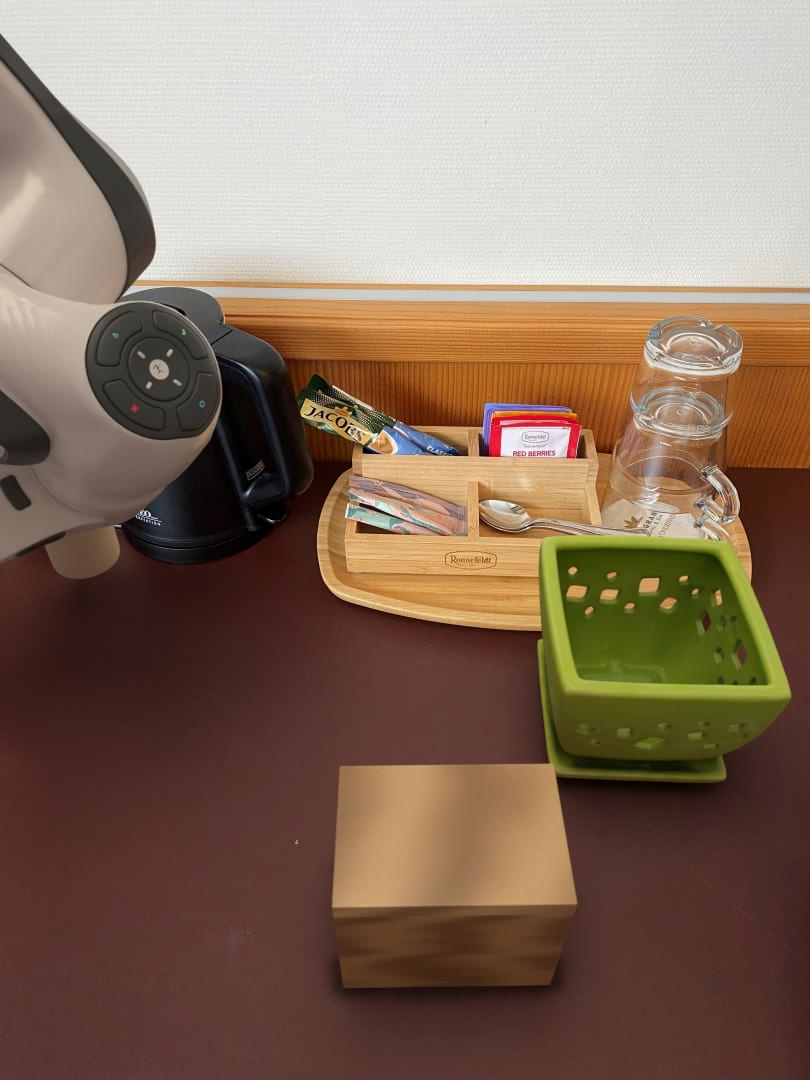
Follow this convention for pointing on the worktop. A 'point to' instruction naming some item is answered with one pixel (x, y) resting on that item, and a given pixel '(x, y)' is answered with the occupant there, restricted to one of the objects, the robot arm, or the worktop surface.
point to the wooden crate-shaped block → (450, 875)
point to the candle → (85, 553)
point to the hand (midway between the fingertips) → (65, 505)
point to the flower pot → (651, 659)
